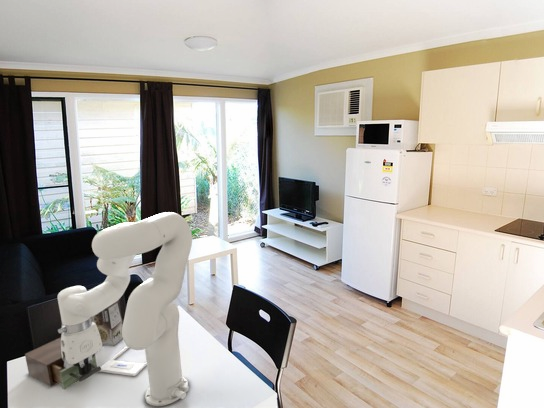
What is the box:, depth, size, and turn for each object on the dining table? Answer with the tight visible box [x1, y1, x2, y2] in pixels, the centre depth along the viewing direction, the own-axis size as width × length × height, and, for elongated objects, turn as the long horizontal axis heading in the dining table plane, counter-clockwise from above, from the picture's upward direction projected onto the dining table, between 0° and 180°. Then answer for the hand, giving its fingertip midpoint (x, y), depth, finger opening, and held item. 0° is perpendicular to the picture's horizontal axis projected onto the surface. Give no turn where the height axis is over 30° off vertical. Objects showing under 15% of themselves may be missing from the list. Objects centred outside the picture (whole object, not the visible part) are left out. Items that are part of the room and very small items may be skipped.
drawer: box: [50, 354, 101, 390], centre depth 119 cm, size 19×10×6 cm, turn 65°
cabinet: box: [24, 337, 62, 387], centre depth 123 cm, size 14×12×8 cm
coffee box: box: [91, 300, 123, 346], centre depth 140 cm, size 9×6×16 cm
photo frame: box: [98, 345, 147, 377], centre depth 130 cm, size 15×1×18 cm
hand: (86, 374), depth 116 cm, fingers closed
